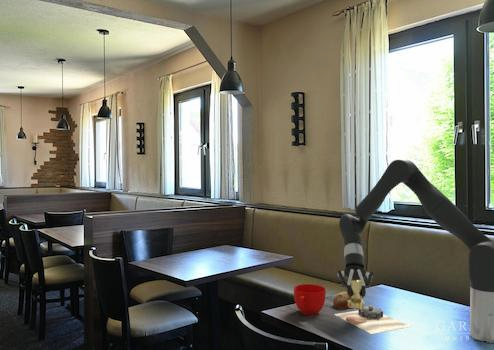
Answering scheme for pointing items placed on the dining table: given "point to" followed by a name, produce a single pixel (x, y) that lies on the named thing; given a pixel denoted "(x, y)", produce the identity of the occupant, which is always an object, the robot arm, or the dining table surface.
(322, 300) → the ceramic cup
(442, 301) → the dining table surface
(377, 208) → the robot arm
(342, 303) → the bread roll
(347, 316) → the gear board
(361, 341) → the dining table surface
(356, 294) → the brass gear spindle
